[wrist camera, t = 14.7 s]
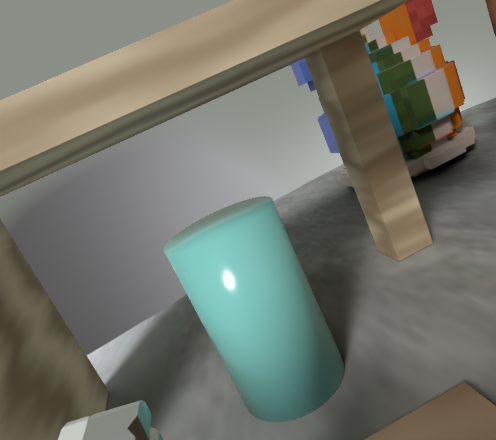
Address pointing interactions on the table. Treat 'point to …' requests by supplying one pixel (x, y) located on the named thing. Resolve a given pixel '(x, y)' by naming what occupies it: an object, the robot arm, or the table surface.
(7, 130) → the wooden step stool
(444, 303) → the table surface
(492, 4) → the brown wooden cube stool
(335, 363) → the mint green cylinder
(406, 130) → the toy
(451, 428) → the tray
